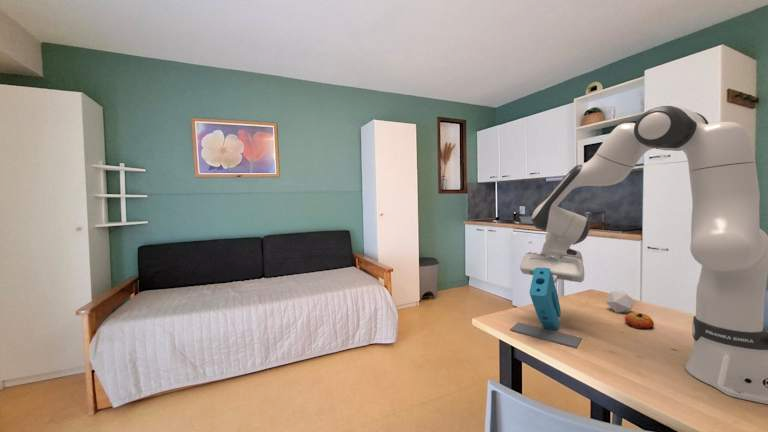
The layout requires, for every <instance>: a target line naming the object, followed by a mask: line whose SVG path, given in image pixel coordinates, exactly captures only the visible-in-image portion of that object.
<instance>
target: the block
mask: <svg viewBox="0 0 768 432" xmlns="http://www.w3.org/2000/svg"><path fill="white" fill-rule="evenodd" d="M556 288H557V287H556V283H555V284H554V280H553V277H552V274H551V270H550V269H549V268H535V269H534V273H533V275H532V279H531V283H530V289H529V296H530V298H531V301H532V305H533V308H534V310H535V313H536V315H537V319H538V321H539V322H540V324H541V325H542V326H543V327H542V328H544V329H548V330H554V331H557V330H559V328H560V319H559V318H561V313H562V311H561V306H560V300H559V295H558V291H557V289H556Z"/></svg>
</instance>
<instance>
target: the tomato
mask: <svg viewBox="0 0 768 432" xmlns="http://www.w3.org/2000/svg"><path fill="white" fill-rule="evenodd" d="M624 321H625V322H626V323H627V324H628V325H629V326H630V327H631V328H632V329H642V328H645V329H648V328H651V327H652V329H654V328H655V323H654V320H653V319H652V318H651V317H650V316H649V315H647V314H646V313H641V312H636V311H635V312H633V311H632V312H628V314H625V317H624Z"/></svg>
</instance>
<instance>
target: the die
mask: <svg viewBox="0 0 768 432" xmlns="http://www.w3.org/2000/svg"><path fill="white" fill-rule="evenodd" d="M605 303H606V305H608V306H609V307H610V308H611V309H612V310H613V311H614V312H615V313H616V314H619V313H623V314H624V313H628V314H629V313H631V310H632V309H633V307H634V304H635V303H636V301H635V300H634V299H633V297H632V296H630V295H629V294H628V293H626V291H624V290H623V291H621V290H620V291H611V292H610V293H609V295H608V297H607V299H606V301H605Z"/></svg>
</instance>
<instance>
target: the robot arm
mask: <svg viewBox="0 0 768 432" xmlns="http://www.w3.org/2000/svg"><path fill="white" fill-rule="evenodd" d="M653 149H654V150H655V149H656V150H661V151H676V152H677V151H679V152H680V151H682V152H683V153H684V154H685V156H686V158H687V163H688V164H687V165H688V172H689V182H690V190H691V199H692V200H691V201H692V202H691V203H692V207H691V208H692V210H691V222H690V223H691V227H690V228H691V229H690V247H689V249H690V254H691V256H692V257H693V259H694V260H695V261H696V263H698V264H700V265H701V269H700V270H701V271H700V275H699V279H698V283H697V286H696V292H695V293H696V296H695V297H696V298H695V315H694V316H693V319H692V325H691V327H692V328H691V329H692V332H691V335H692V338H693V342H692V347H691V351H690V355H689V358H688V360H687V362H686V364H685V370H686V371H687V372H688V373H689V375H691V376H692V377H694V378H696V379H698V380H699V381H701V382H703V383H705V384H708V385H710V386H712V387H714V388H715V389H716V390H718V391H720V392H721V393H723V394H725V395H727V396H730V397H733V398H735V399H741V400H745V401H746V400H747V401H750V402H756V403H760V404H764V405H768V329H765V328H764V317H765V316H764V315H765V314H764V313H765V312H764V311H765V295H766V289H767V284H768V283H767V282H768V234H767V233H766V232H765V231H764V230H763V229H761V228H760V226H761V225H760V200H761V199H760V198H761V194H760V193H761V192H760V186H759V180H758V179H759V178H758V171H757V164H756V157H755V153H754V148H753V146H752V142H751V140H750V137H749V134H748V132H747V130H746V128H745V127H744V126H743V125H742V124H740V123H738V122H735V121H718V122H713V123H709V121H708V120H707V118H706V117H705V116H704V115H702V114H701V113H698V112H694V111H693V110H691V109H688V108H685V107H679V106H672V105H661V106H656V107H654V108H653V107H652V108H650V109H648V110H647V111H645V112H644V113H642V114H641V115H640V116H639V117H638V118H637V120H636V121H635V122H624V123H621V124H618V125H617V126H616V127H615V128H613V129H612V131H611V132H610V133H609V135H608V136H606V138H605V139H604V140H603V142H602V143H601V144H600V146H599V147H598V149H597V150H596V152H595V153H594V155H593V156H592V157H591V158H590V159H589V160H587V161H586V162H585V163H583V164H576V165H575V166H574V167H573V168H572V169H571V170H569V171H568V172H567V174H566V175H565V176H563V178H562V179H561V180H560V181H559V183H558V184H557V185H556V186H555V188H553V190H552V191H551V192H550V193H549V194H548V195H547V197H546V198H545V199H544V200H542V202H541V203H540V204H539V205H538V206H537V207H536V208H535V209H534V211H533V212H532V215H531V218H530V220H531V222H532V224H533V226H534V227H535V229H538V230H541V231H544V232H546V235H545V241H544V243H543V245H542V247H541V248H542V249H541V252H532V251H529V252H527V253H523V257H522V260H521V263H520V266H519V268H520V271H521V273H522V274H524V275H527V276H528V275H530V276H533V273H534V269H535V268H549V269H550V270H551V274H552V277H553V280H554V284H555V285H556V283H557V282H558V280H563V281H569V282H576V283H582V282H584V281H585V267H584V260H583V255H582V253H581V251H578V250H576V249H572V248H571V246H572V245H573V246H574V245H577V244H579V243H581V242H584V241H585V240H586V239H587V237H588V235H589V232H590V229H591V224H590V221H589V219H588V218H587V217H586V216H584V215H581V214H578V213H576V212H573V211H571V210H567V209H565V208H562V207H559V204H560V203H561V202H562V201H563V200H564V199H565V198H566V197H567V195H569V193H570V192H571V191H572V190H574V189H577V188H580V187H588V186H589V187H608V186H612V185H616V184H618V183H621V182H622V181H624V180H625V179H626V178H627V177H628V176H629V175H630V174H631V172H632V171H633V169H634V168H635V166H636V165H637V163H638V162H639V160H640V159H641V158H642V156H644V154H646V153H648V151H651V150H653Z"/></svg>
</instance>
